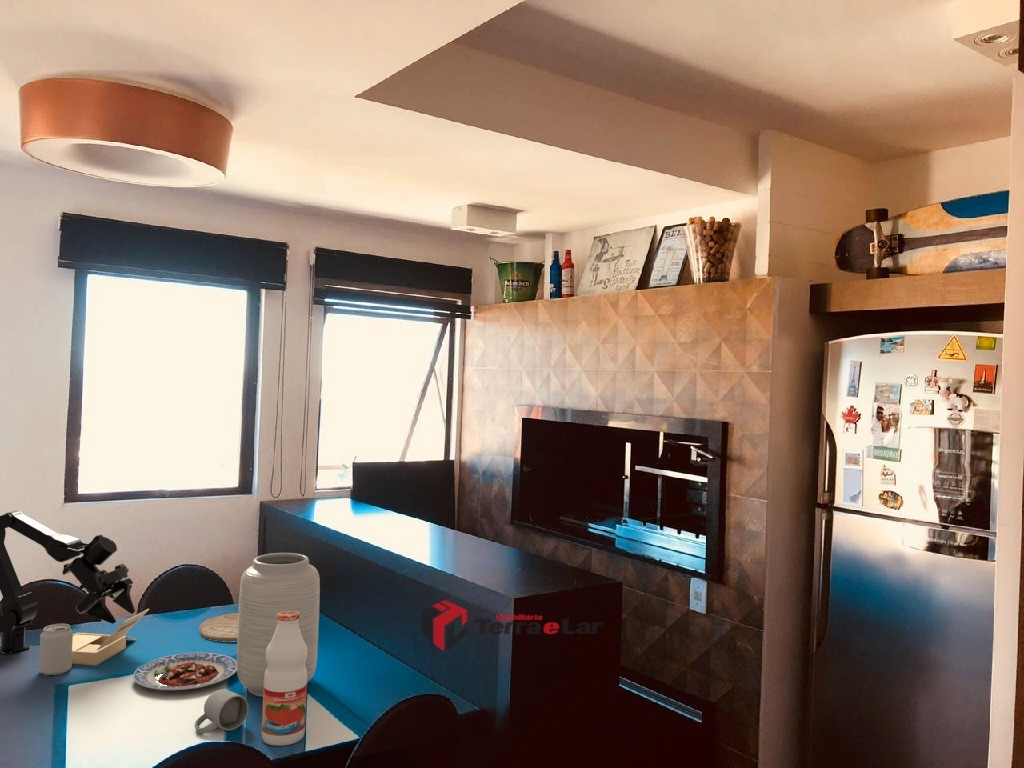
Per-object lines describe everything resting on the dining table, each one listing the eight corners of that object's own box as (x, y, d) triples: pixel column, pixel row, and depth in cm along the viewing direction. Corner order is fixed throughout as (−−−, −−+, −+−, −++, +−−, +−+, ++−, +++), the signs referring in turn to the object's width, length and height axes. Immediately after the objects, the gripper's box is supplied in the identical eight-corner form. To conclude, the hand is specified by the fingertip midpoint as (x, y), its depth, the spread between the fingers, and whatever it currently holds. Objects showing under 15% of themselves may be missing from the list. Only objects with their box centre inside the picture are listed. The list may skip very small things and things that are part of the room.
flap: (96, 649, 212) (123, 621, 211) (123, 634, 224) (148, 608, 223) (97, 650, 211) (124, 622, 211) (124, 635, 224) (149, 609, 223)
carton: (43, 661, 212) (44, 649, 212) (91, 636, 233) (91, 625, 233) (95, 665, 211) (96, 652, 211) (138, 640, 231) (139, 628, 231)
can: (56, 678, 201) (58, 632, 201) (31, 675, 203) (33, 629, 203) (78, 668, 209) (79, 623, 209) (54, 664, 210) (55, 621, 210)
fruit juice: (301, 725, 180) (306, 605, 180) (308, 743, 172) (313, 617, 171) (259, 731, 176) (263, 608, 176) (263, 749, 168) (268, 621, 168)
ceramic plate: (258, 671, 212) (258, 660, 212) (183, 705, 189) (183, 693, 189) (189, 654, 223) (189, 643, 223) (110, 684, 199) (110, 672, 199)
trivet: (224, 615, 259) (224, 609, 259) (295, 621, 256) (295, 615, 256) (182, 639, 235) (183, 633, 235) (260, 646, 231) (260, 640, 231)
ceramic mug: (229, 713, 185) (230, 681, 185) (248, 724, 180) (249, 691, 179) (187, 728, 177) (188, 695, 176) (205, 740, 171) (206, 706, 171)
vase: (288, 708, 189) (293, 571, 189) (218, 695, 195) (223, 562, 195) (330, 678, 208) (335, 554, 208) (266, 667, 214) (270, 547, 214)
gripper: (88, 564, 208) (125, 608, 208) (128, 549, 227) (162, 590, 226) (59, 591, 209) (96, 635, 208) (101, 574, 228) (135, 614, 227)
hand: (124, 617), depth 217 cm, fingers open, 9 cm apart
